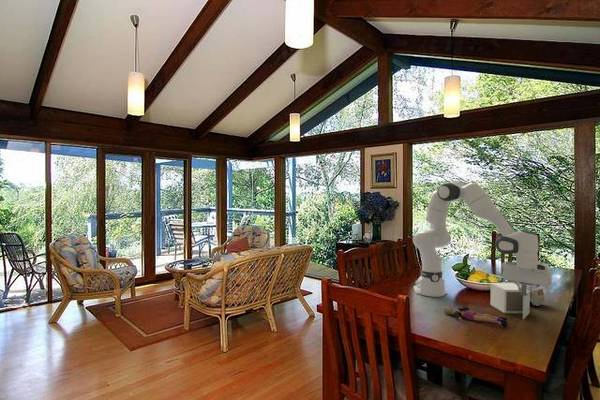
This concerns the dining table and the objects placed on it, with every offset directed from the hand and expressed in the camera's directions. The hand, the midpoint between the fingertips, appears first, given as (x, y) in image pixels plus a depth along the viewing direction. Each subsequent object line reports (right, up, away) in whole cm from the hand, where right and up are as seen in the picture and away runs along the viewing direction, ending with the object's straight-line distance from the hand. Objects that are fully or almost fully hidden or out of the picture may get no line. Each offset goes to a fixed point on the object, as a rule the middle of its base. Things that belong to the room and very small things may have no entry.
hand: (525, 291), depth 169 cm
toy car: (+14, -13, +29) cm, 35 cm away
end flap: (+3, -13, +4) cm, 14 cm away
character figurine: (-25, -14, 0) cm, 29 cm away
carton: (+1, -13, +16) cm, 21 cm away
